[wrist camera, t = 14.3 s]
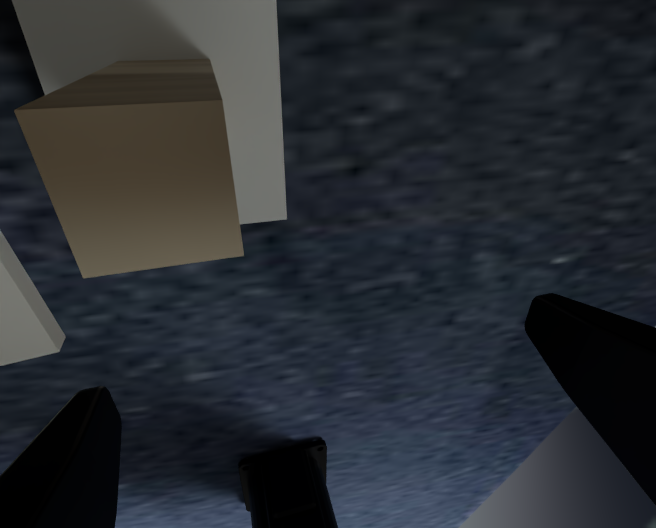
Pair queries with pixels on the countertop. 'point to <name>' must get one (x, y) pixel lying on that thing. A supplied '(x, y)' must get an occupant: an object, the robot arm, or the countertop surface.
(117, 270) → the stick
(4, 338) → the tile
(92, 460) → the robot arm
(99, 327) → the countertop surface
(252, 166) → the grey flat plate
